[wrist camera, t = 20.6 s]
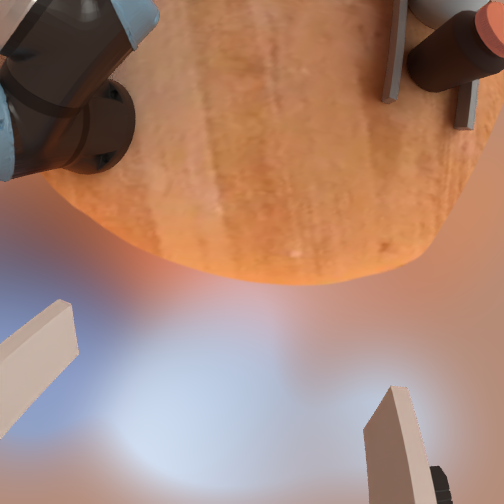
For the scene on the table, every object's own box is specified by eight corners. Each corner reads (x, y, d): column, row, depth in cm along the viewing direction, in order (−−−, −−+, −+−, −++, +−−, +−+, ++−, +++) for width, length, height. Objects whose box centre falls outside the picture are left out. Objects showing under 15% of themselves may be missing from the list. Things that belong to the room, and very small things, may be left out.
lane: (381, 101, 34) (404, 88, 24) (395, -51, 24) (410, -85, 14) (459, 130, 32) (498, 129, 23) (465, -22, 23) (491, -47, 13)
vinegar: (457, 83, 30) (547, 57, 12) (422, 100, 32) (507, 73, 14) (432, 41, 29) (506, -12, 10) (396, 56, 31) (461, -3, 12)
